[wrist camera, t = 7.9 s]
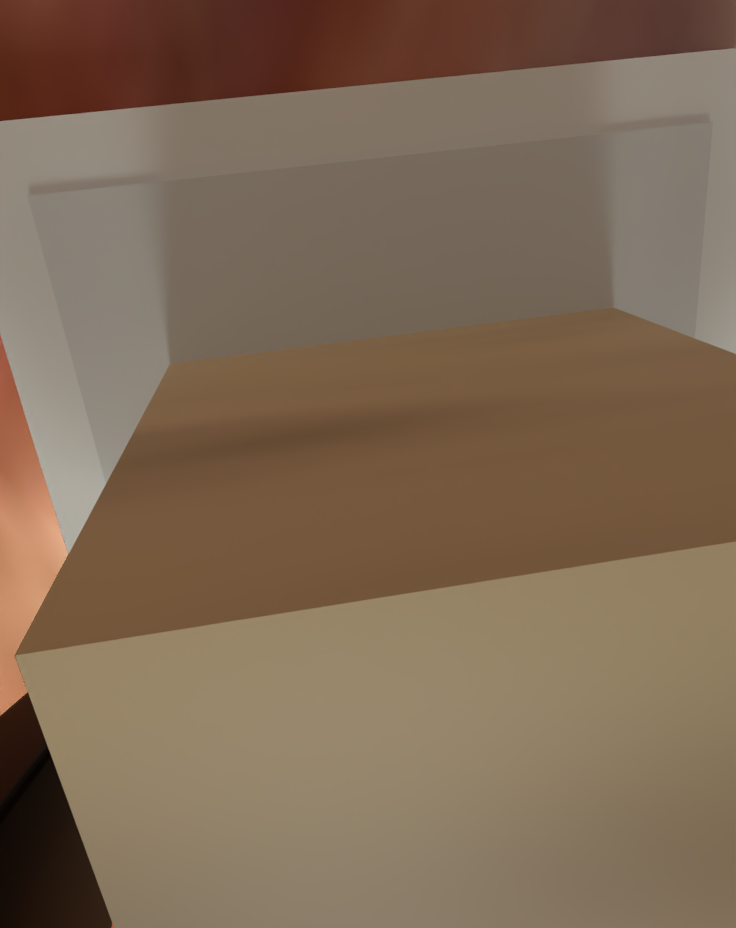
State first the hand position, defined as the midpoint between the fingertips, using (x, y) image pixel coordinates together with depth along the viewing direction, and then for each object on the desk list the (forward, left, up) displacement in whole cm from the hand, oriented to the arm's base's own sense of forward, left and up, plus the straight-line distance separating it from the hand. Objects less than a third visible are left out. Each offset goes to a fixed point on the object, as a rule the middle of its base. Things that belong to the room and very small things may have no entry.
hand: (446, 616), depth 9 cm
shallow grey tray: (0, 0, -3) cm, 3 cm away
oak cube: (0, 0, -2) cm, 2 cm away
